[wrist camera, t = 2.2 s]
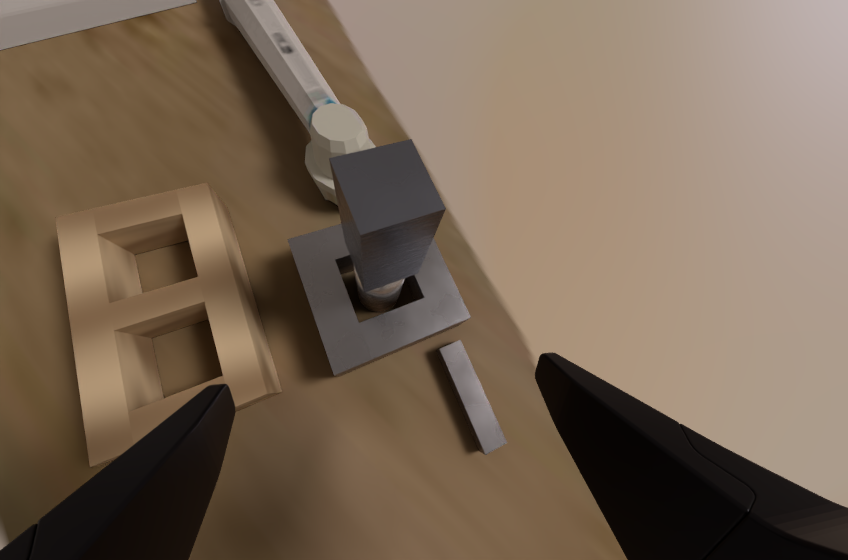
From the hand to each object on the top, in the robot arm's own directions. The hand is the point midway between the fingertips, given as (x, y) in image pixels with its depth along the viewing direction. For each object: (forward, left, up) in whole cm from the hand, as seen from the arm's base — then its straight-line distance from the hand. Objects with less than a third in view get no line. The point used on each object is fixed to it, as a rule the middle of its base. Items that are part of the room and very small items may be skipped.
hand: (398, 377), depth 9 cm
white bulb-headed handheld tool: (+25, -2, -13) cm, 28 cm away
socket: (+6, -2, -12) cm, 14 cm away
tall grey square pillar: (+6, -2, -12) cm, 14 cm away
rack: (+9, +10, -12) cm, 18 cm away
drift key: (-3, -5, -12) cm, 14 cm away
